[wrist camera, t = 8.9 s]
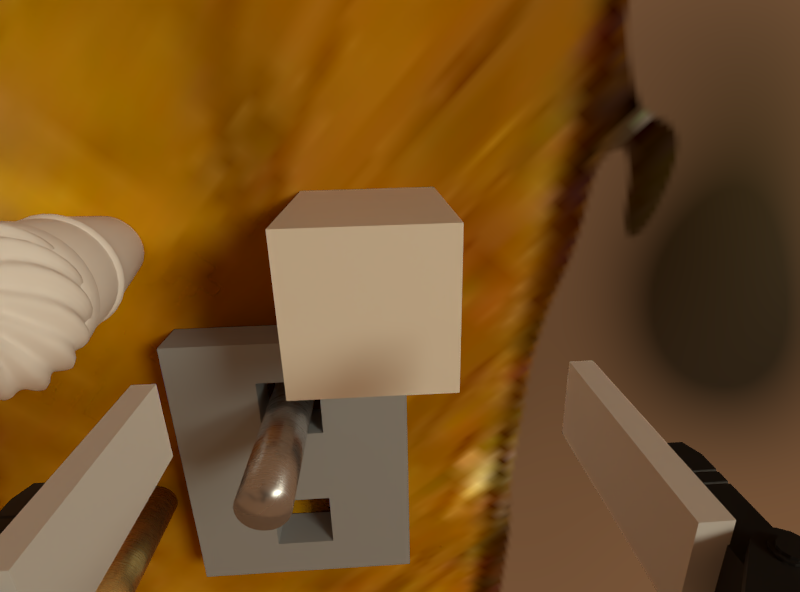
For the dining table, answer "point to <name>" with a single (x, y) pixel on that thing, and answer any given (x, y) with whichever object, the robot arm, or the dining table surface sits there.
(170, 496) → the brass pin
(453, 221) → the block
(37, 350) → the soft serve ice cream cone
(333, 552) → the socket board
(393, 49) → the dining table surface
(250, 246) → the dining table surface
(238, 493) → the steel pin
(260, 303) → the dining table surface
